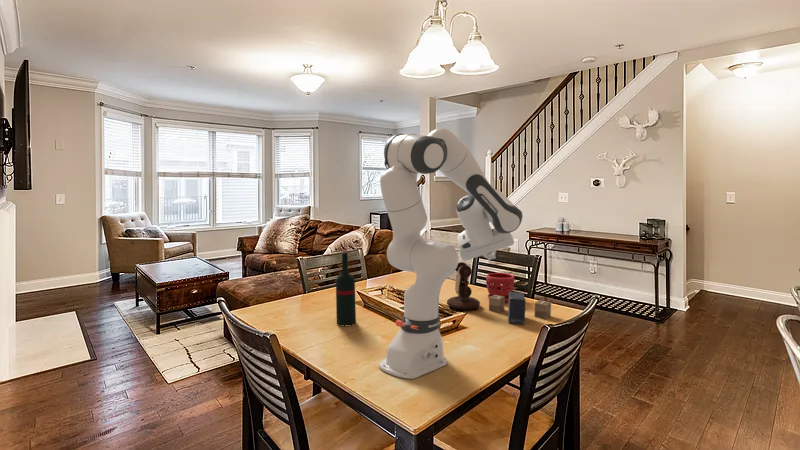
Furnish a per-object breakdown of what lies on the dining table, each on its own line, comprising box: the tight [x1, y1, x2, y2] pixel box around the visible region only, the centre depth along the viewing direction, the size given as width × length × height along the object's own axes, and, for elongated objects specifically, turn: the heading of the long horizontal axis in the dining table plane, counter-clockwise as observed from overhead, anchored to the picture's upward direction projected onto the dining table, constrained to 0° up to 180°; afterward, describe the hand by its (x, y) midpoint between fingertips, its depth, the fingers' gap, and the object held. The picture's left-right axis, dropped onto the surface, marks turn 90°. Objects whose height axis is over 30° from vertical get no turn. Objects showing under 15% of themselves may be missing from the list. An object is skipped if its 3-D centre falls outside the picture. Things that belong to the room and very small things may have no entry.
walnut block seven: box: [488, 295, 506, 313], centre depth 183 cm, size 5×5×6 cm
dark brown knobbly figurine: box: [446, 261, 481, 311], centre depth 187 cm, size 15×15×20 cm
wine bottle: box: [335, 249, 357, 327], centre depth 168 cm, size 8×10×30 cm
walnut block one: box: [534, 299, 552, 320], centre depth 174 cm, size 5×5×6 cm
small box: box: [507, 291, 526, 325], centre depth 170 cm, size 11×6×10 cm, turn 167°
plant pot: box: [485, 272, 515, 303], centre depth 199 cm, size 13×13×12 cm
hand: (491, 258), depth 158 cm, fingers closed
